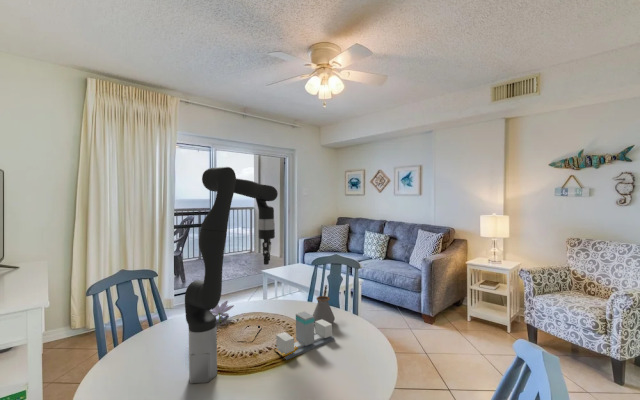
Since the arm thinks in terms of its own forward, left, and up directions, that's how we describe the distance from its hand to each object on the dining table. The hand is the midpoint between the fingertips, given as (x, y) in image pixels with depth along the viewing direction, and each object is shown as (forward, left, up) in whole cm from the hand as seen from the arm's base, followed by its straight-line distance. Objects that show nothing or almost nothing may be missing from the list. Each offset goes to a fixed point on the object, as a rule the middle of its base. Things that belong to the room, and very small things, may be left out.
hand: (267, 262), depth 140 cm
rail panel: (-17, -17, -32) cm, 40 cm away
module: (-17, -17, -30) cm, 39 cm away
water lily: (+16, +25, -32) cm, 44 cm away
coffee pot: (+8, -28, -32) cm, 43 cm away
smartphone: (-4, +8, -33) cm, 34 cm away
